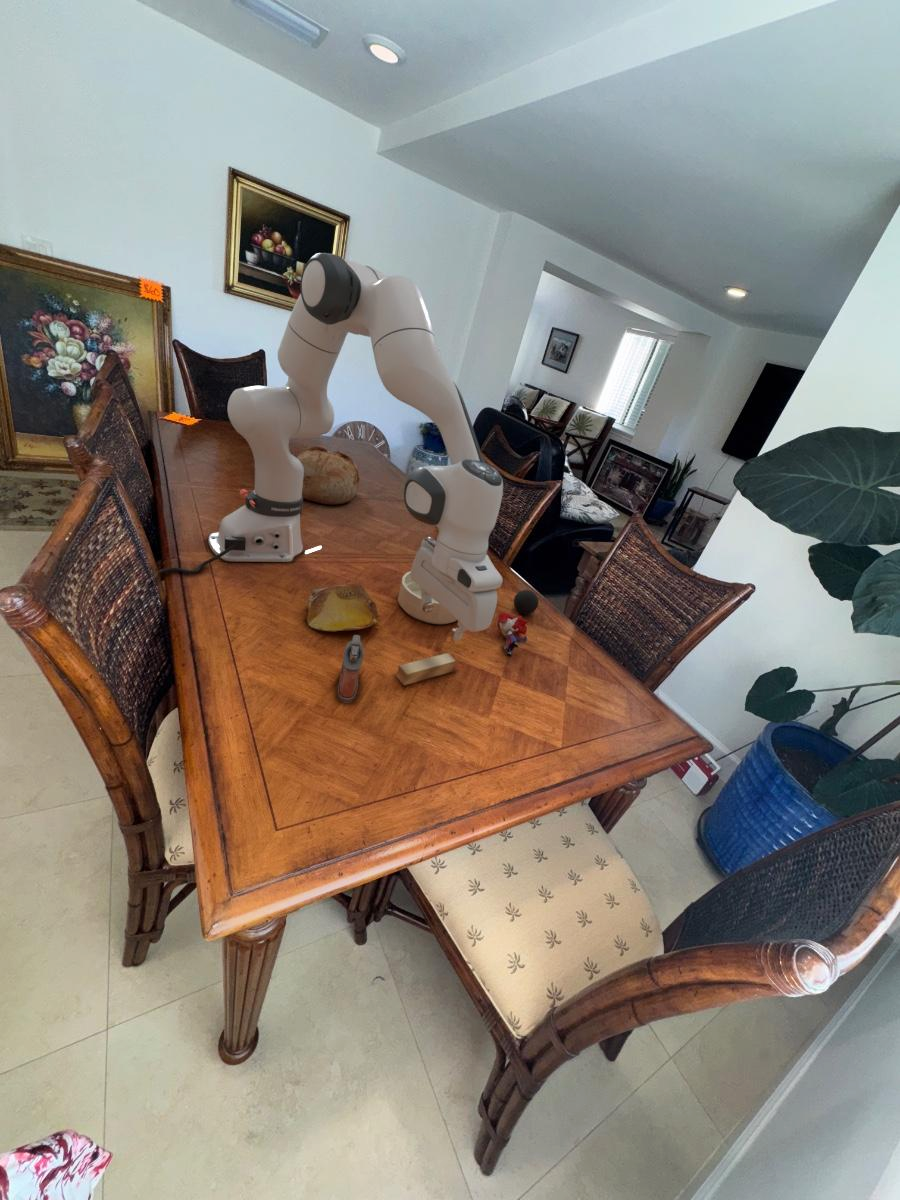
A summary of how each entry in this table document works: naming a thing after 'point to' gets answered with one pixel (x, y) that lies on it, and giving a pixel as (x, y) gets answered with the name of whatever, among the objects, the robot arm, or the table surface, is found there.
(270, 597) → the table surface
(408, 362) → the robot arm
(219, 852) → the table surface
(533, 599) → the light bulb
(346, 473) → the bread
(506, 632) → the figurine
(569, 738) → the table surface
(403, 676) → the stick
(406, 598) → the bowl
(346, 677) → the lighter
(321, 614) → the brown yellow irregular block
